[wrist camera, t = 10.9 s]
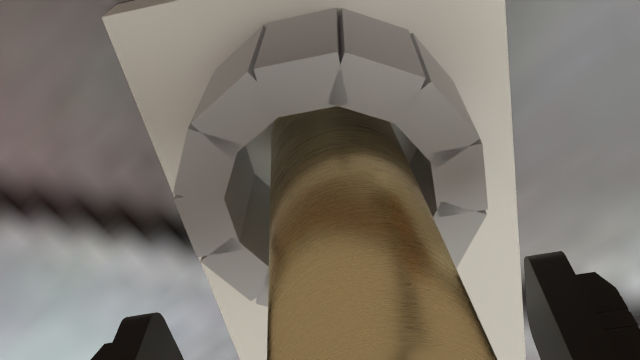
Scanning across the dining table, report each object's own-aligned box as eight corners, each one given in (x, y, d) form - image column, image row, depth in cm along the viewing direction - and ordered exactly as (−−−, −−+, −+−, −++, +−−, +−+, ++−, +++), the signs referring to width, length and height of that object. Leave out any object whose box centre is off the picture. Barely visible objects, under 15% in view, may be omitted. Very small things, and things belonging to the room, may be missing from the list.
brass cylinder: (381, 70, 19) (515, 322, 8) (397, 179, 21) (524, 499, 10) (259, 95, 19) (236, 375, 8) (285, 201, 21) (295, 541, 10)
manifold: (116, 4, 19) (47, 63, 15) (488, -80, 18) (544, -44, 13) (281, 429, 30) (272, 540, 26) (520, 399, 29) (557, 511, 24)
